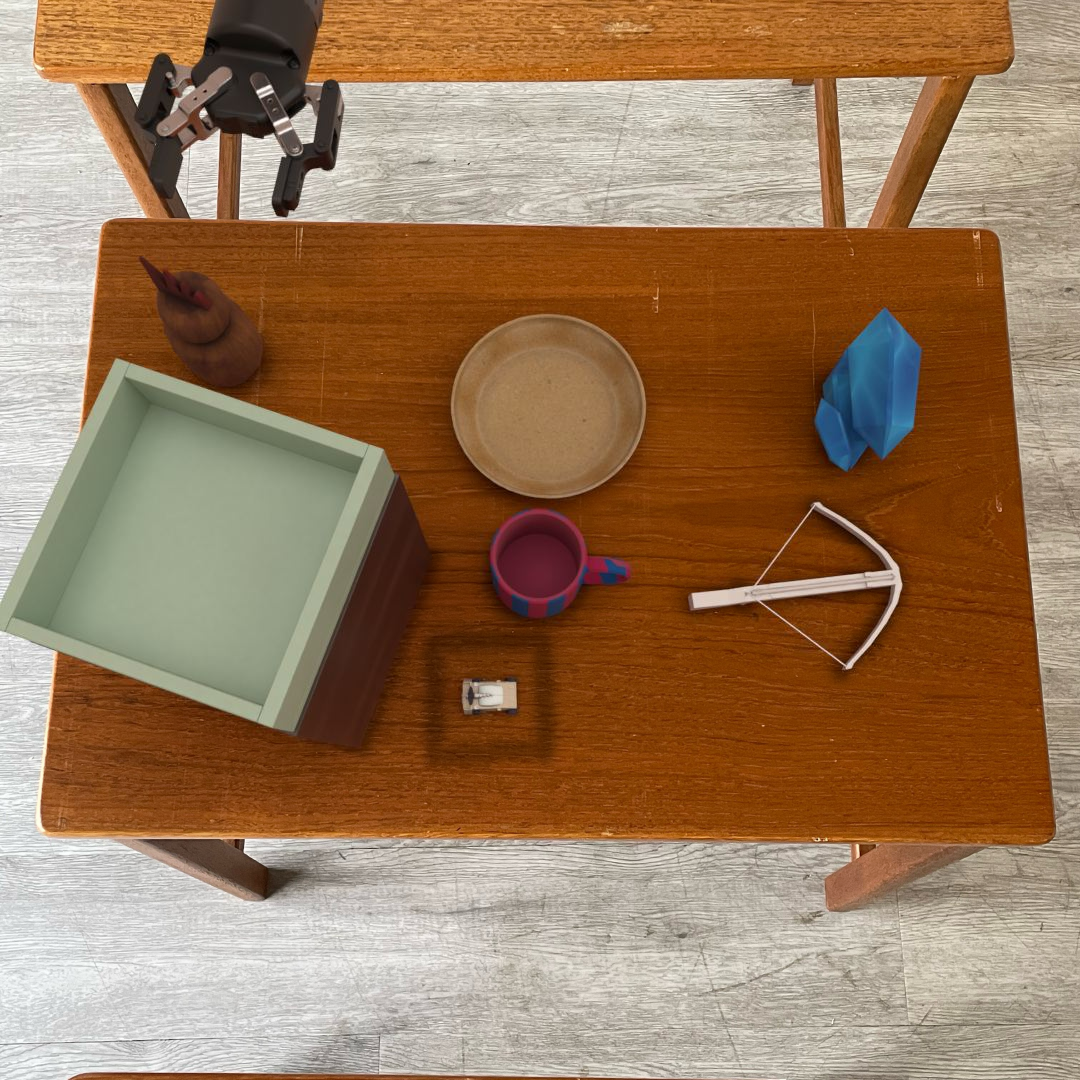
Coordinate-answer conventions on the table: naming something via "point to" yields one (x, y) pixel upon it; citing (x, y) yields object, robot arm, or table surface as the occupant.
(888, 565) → the crossbow
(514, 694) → the toy car
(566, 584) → the cup
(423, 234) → the table surface
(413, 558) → the plinth
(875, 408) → the crystal
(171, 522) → the bin
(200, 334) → the wooden figurine
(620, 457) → the plant saucer
